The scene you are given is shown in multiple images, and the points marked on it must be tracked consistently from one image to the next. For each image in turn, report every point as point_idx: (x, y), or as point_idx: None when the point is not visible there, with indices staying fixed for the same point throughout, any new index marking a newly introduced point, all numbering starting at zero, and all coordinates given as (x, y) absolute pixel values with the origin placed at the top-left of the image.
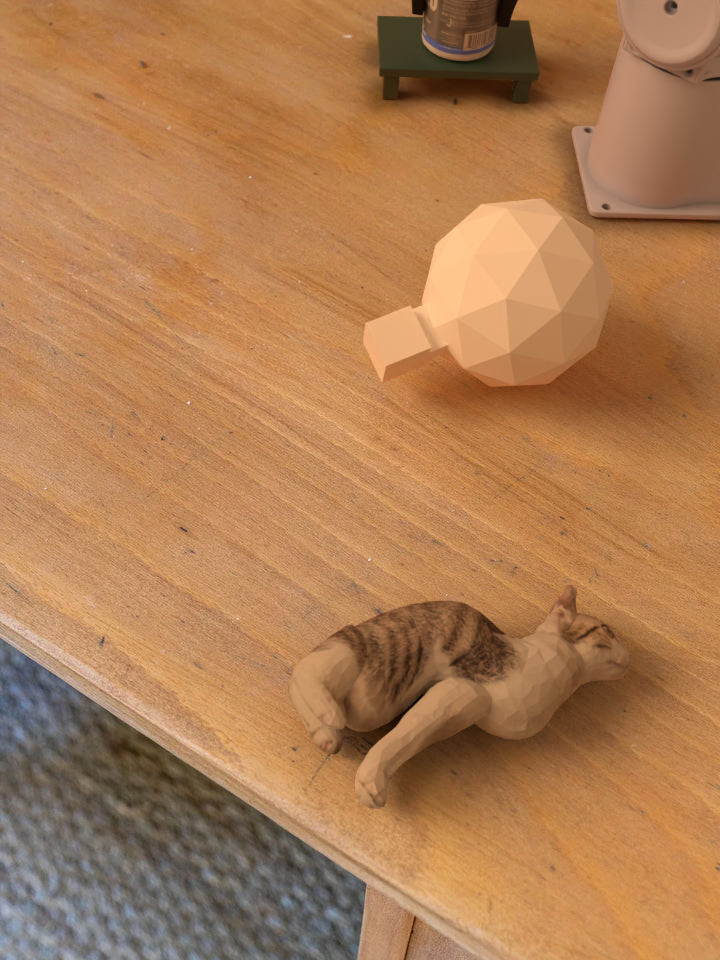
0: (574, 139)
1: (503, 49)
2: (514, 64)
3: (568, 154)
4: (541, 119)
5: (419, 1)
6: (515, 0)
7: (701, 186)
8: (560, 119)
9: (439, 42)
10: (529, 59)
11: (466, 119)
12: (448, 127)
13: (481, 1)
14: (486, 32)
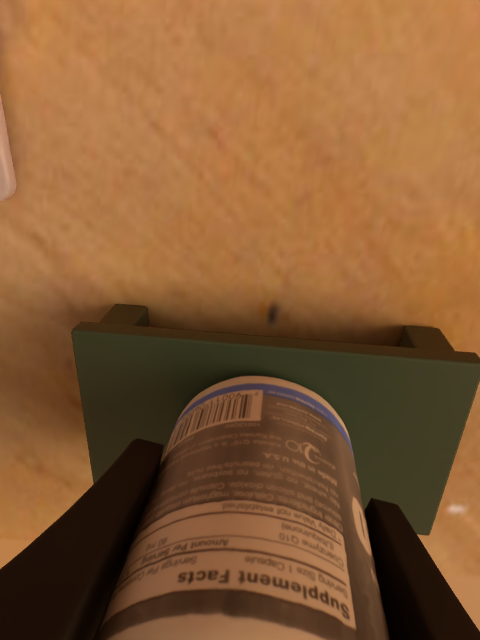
0: (2, 146)
1: (154, 415)
2: (131, 364)
3: (23, 118)
4: (87, 250)
5: (399, 532)
6: (91, 493)
7: None
8: (46, 250)
9: (324, 419)
10: (94, 379)
11: (255, 254)
12: (302, 226)
13: (210, 497)
14: (195, 428)
